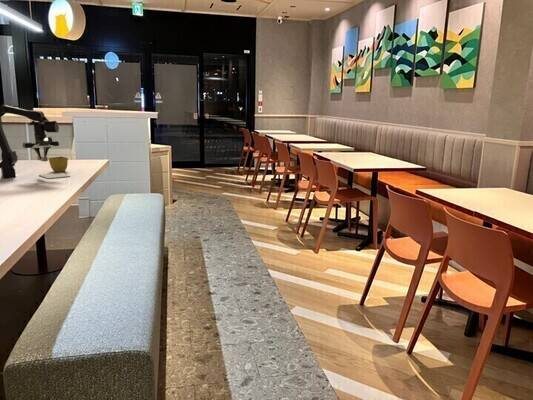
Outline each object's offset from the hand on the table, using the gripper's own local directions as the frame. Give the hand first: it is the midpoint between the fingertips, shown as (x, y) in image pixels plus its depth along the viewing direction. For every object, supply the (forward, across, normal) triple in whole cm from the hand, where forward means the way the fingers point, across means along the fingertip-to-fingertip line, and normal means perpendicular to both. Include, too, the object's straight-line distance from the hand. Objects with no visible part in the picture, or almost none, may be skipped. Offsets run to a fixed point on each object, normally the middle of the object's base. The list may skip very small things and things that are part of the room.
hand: (42, 158), depth 262 cm
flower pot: (+12, +14, +18) cm, 26 cm away
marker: (+1, 0, +1) cm, 1 cm away
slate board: (+12, +6, +1) cm, 13 cm away
